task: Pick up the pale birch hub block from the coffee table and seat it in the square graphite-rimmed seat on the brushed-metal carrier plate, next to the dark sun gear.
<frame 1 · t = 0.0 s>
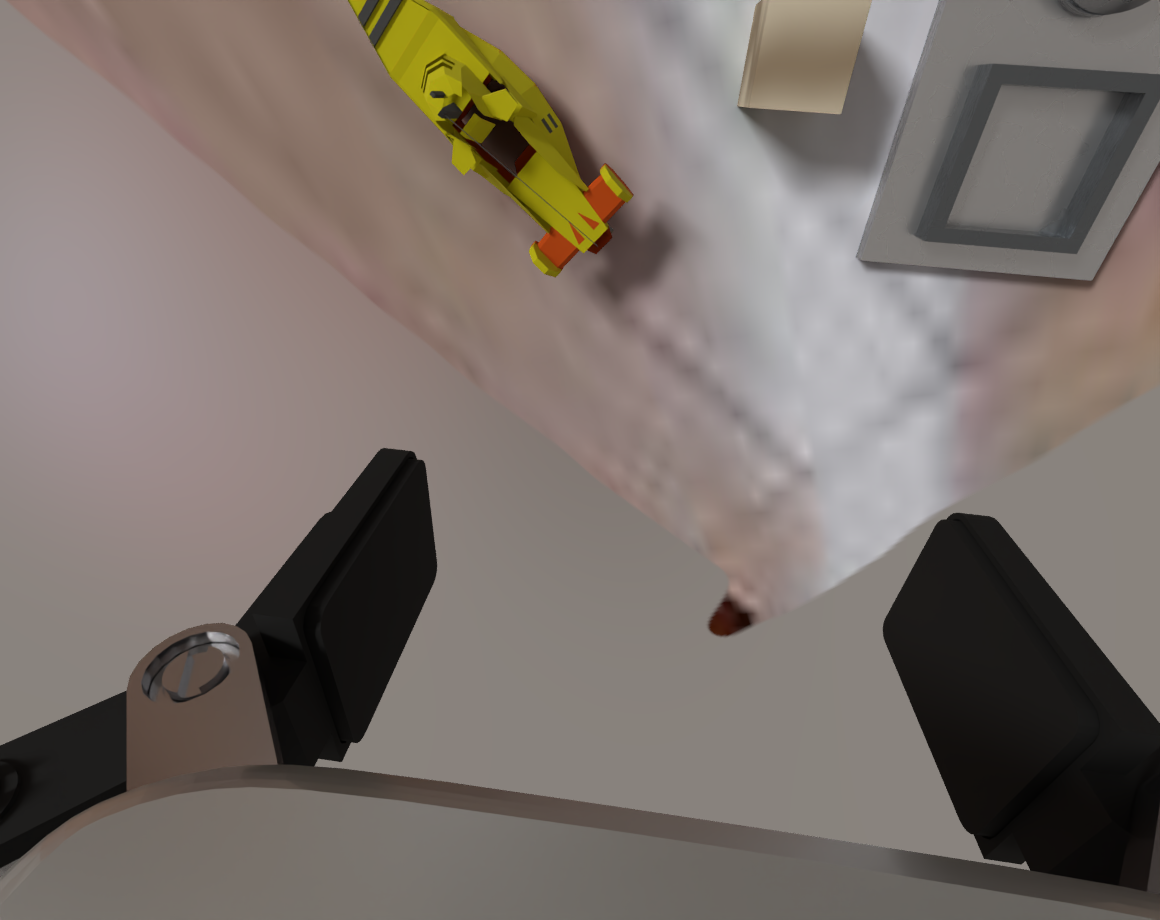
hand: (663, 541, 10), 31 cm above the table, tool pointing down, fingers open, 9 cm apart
carrier plate: (1049, 77, 30), on the table
hub block: (787, 60, 31), on the table
yellow toy car: (508, 122, 34), on the table
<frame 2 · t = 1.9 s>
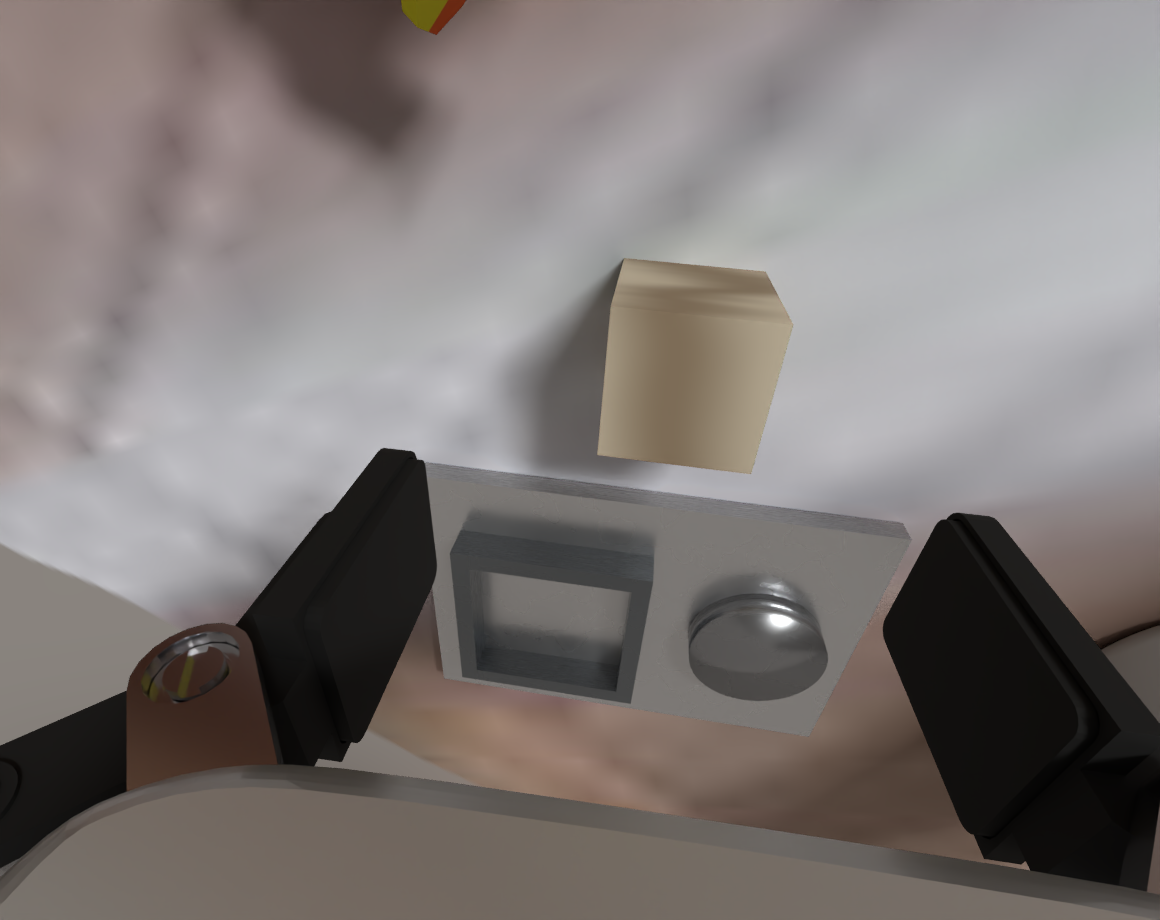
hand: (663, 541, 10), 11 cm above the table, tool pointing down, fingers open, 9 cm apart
carrier plate: (637, 605, 27), on the table
hub block: (682, 331, 19), on the table
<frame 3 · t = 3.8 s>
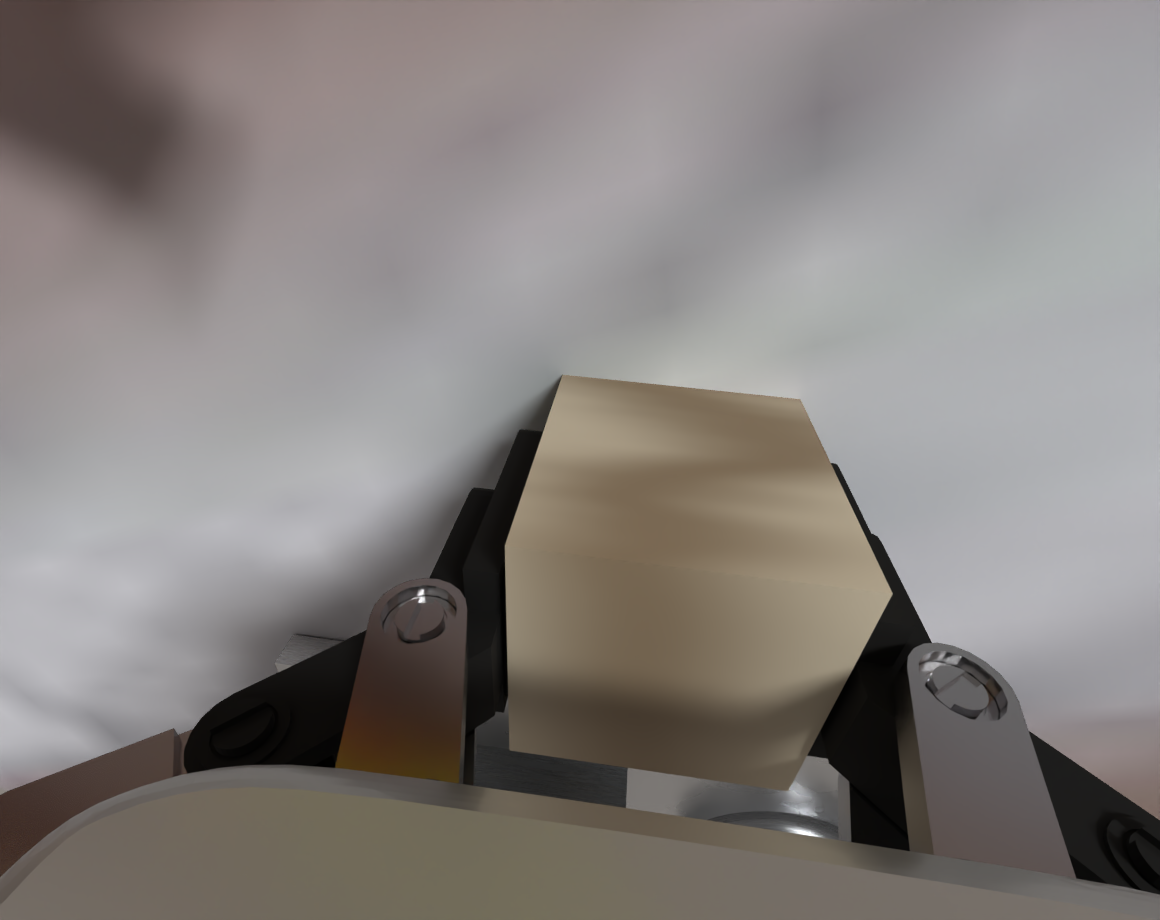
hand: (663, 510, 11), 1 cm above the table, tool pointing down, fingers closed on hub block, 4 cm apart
carrier plate: (607, 799, 20), on the table
hub block: (663, 482, 12), on the table, touching gripper
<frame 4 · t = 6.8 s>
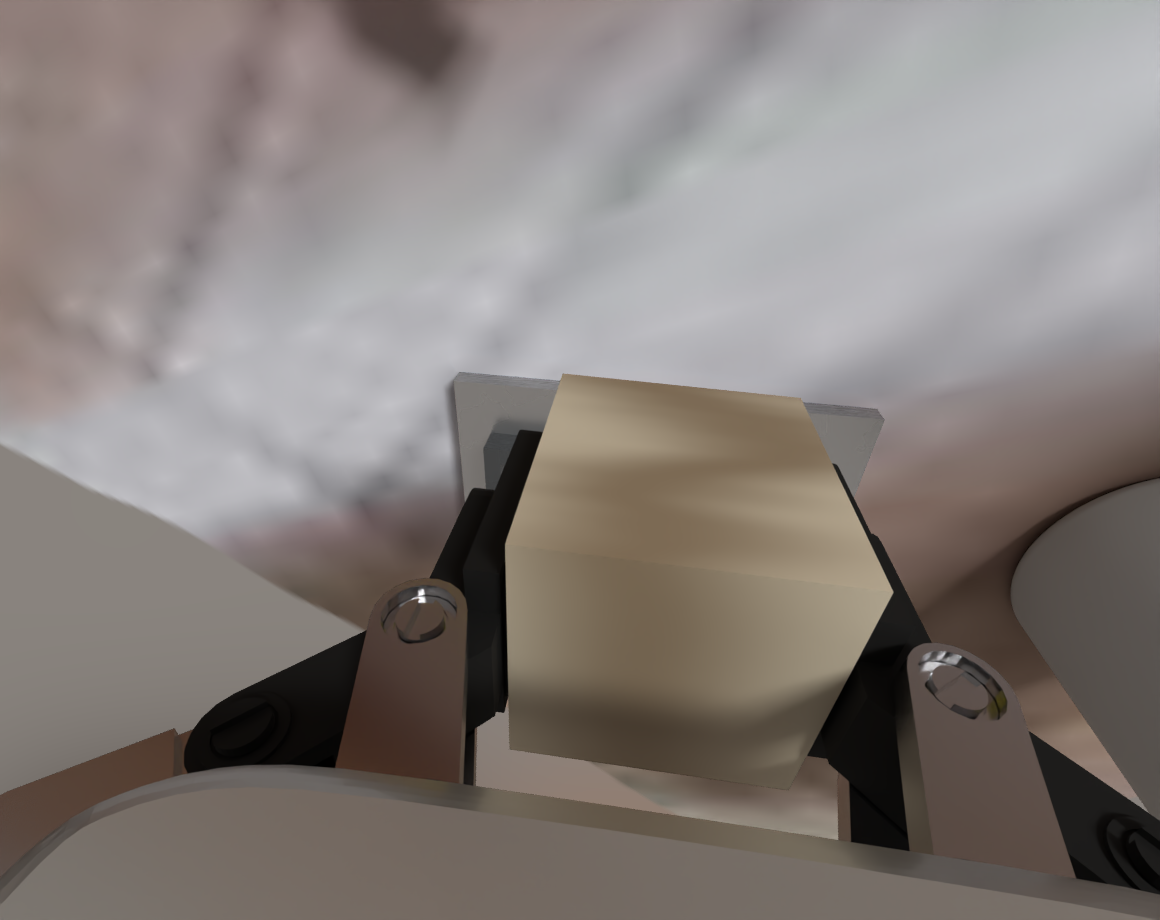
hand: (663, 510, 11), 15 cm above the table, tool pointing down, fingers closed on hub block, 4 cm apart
carrier plate: (647, 504, 31), on the table
hub block: (663, 481, 12), point 14 cm above the table, touching gripper
cylinder vase: (1137, 561, 29), on the table
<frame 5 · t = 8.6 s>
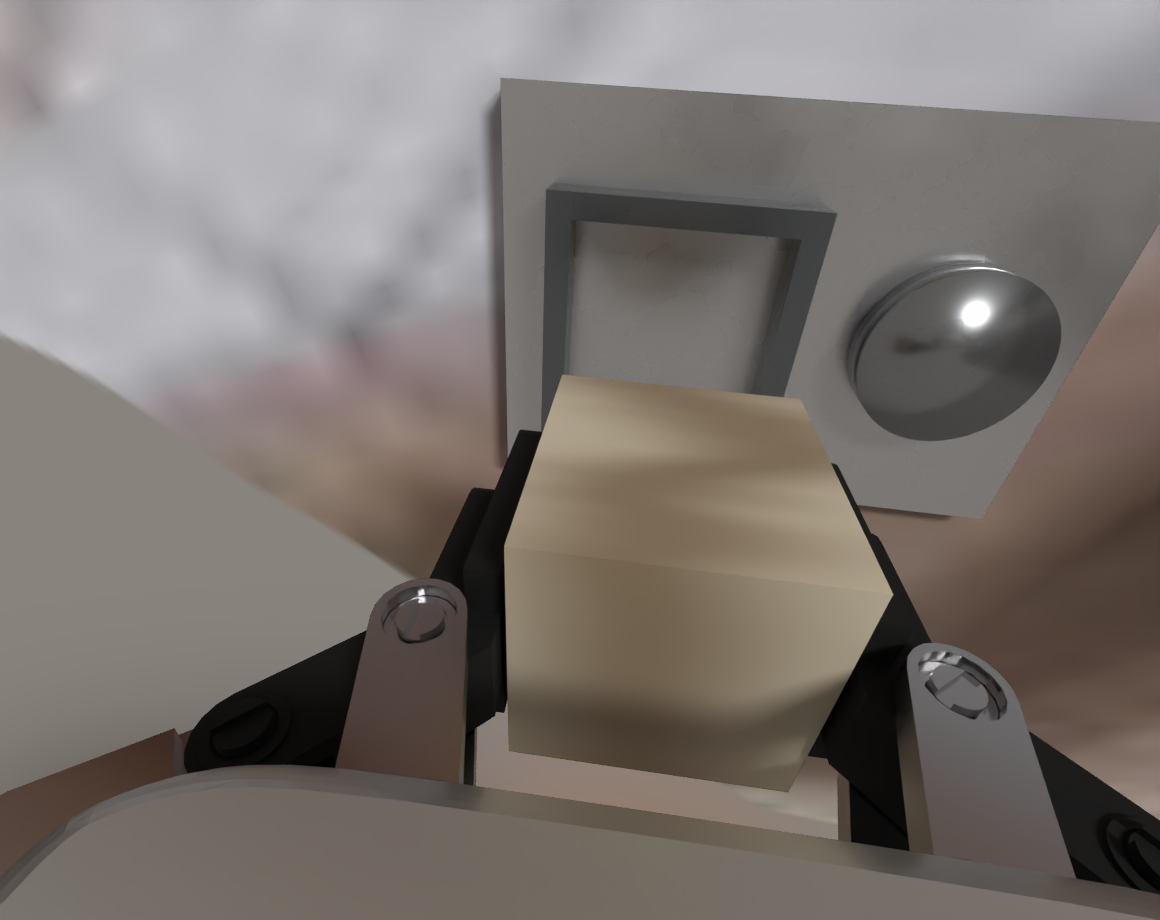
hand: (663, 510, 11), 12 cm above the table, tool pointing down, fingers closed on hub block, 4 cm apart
carrier plate: (775, 324, 21), on the table
hub block: (662, 482, 12), point 11 cm above the table, touching gripper
when the fingers open (3 cm above the table, at t = 10.3 s): hub block drops 1 cm, resting on carrier plate.
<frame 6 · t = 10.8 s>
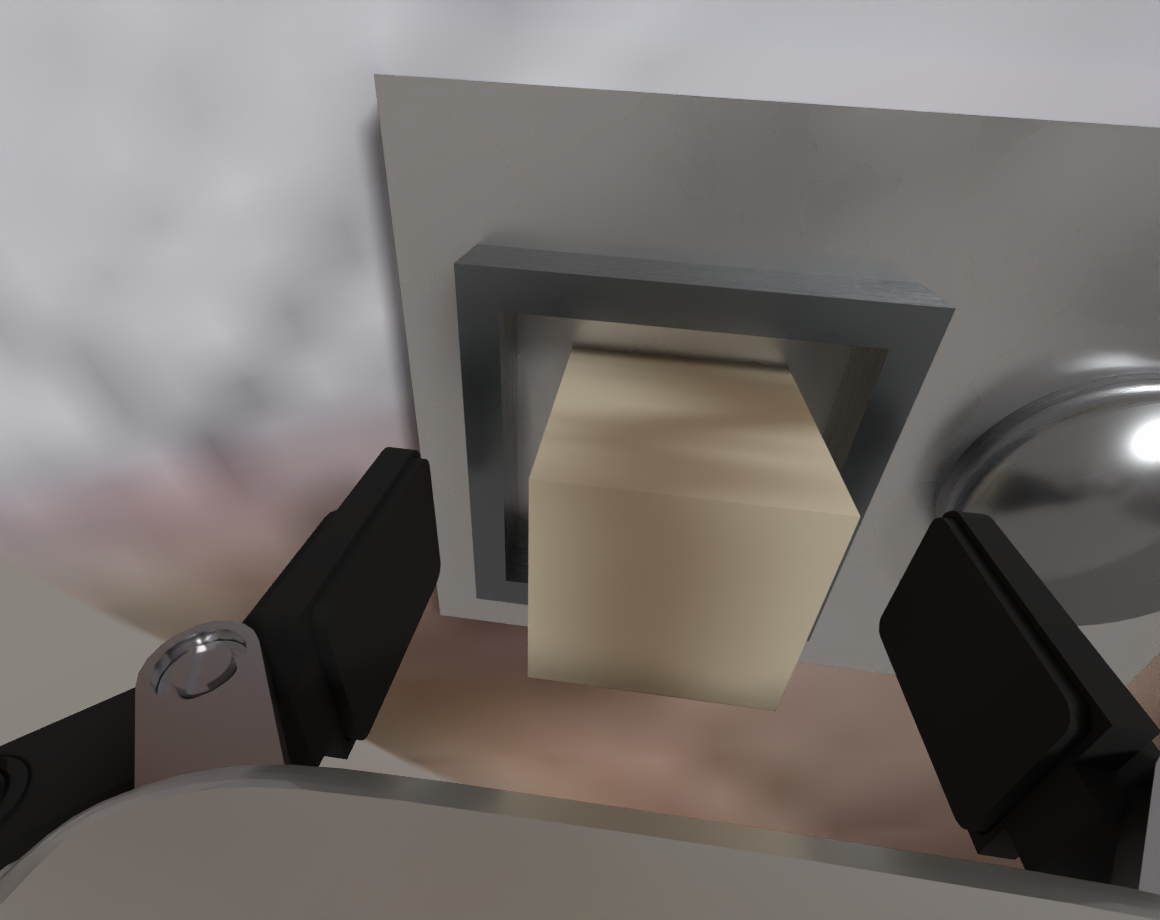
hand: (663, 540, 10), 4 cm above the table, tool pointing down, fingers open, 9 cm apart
carrier plate: (823, 445, 14), on the table
hub block: (664, 447, 13), point 1 cm above the table, touching carrier plate
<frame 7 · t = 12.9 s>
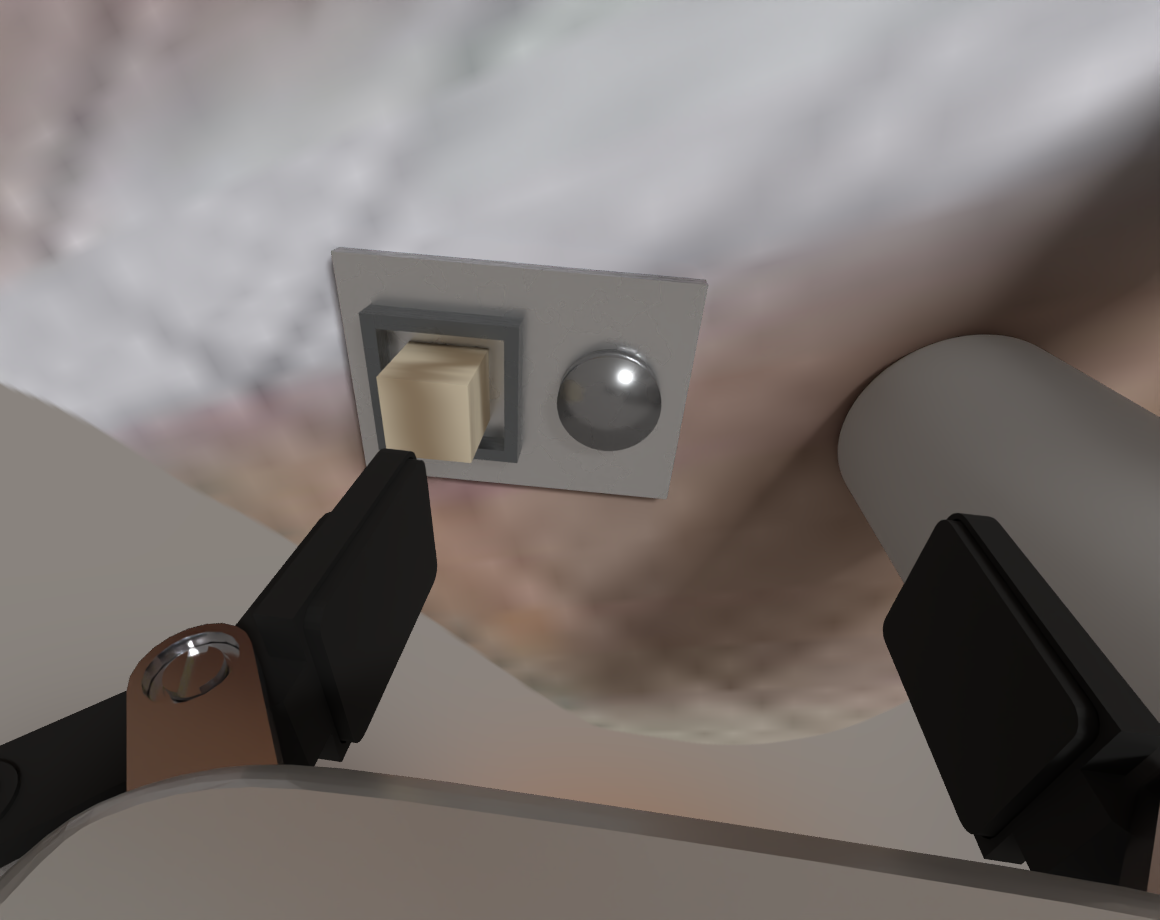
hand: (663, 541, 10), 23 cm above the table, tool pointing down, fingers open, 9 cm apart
carrier plate: (519, 381, 34), on the table
hub block: (451, 381, 33), point 1 cm above the table, touching carrier plate
cylinder vase: (940, 427, 34), on the table
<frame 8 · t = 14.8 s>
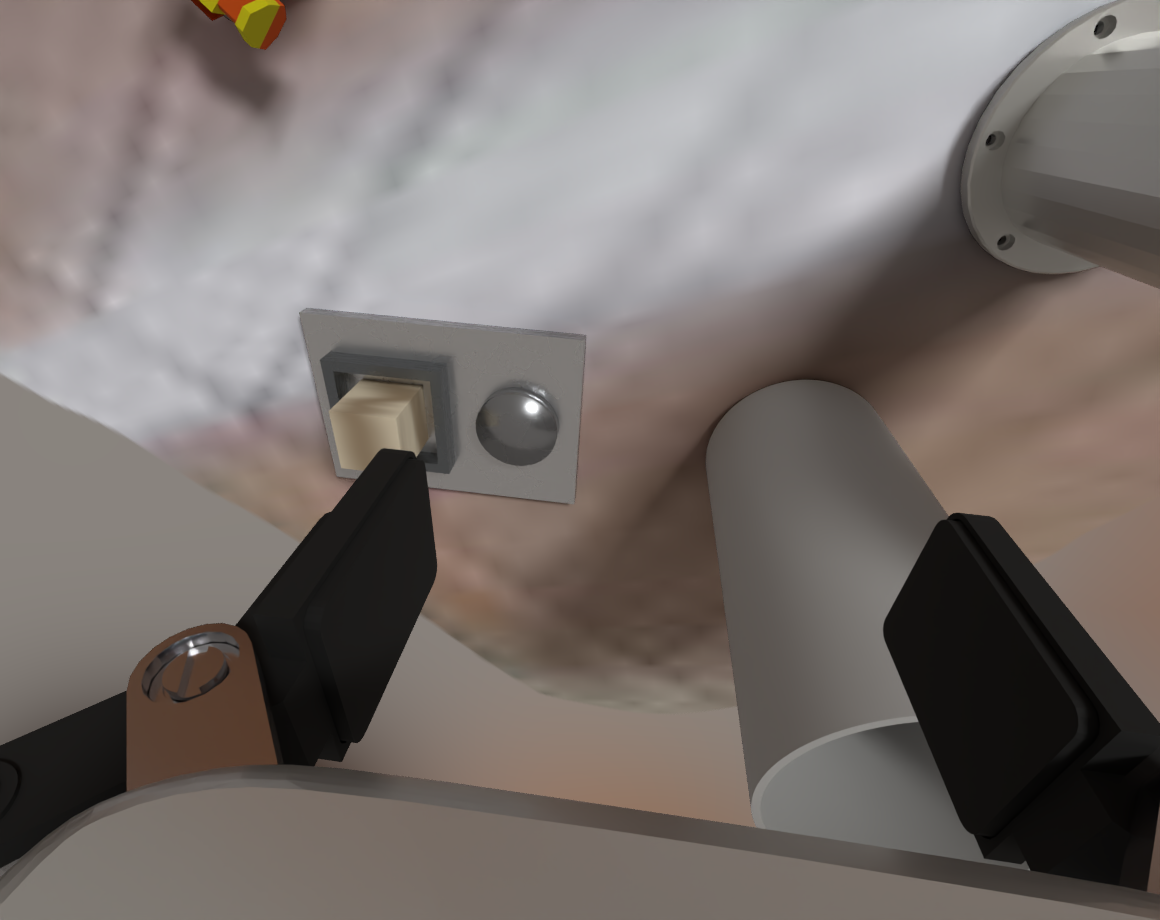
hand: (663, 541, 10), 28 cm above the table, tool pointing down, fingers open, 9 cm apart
carrier plate: (451, 409, 43), on the table
hub block: (396, 409, 42), point 1 cm above the table, touching carrier plate
cylinder vase: (790, 450, 41), on the table
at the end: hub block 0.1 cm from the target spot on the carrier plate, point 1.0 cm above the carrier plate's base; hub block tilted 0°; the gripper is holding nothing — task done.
